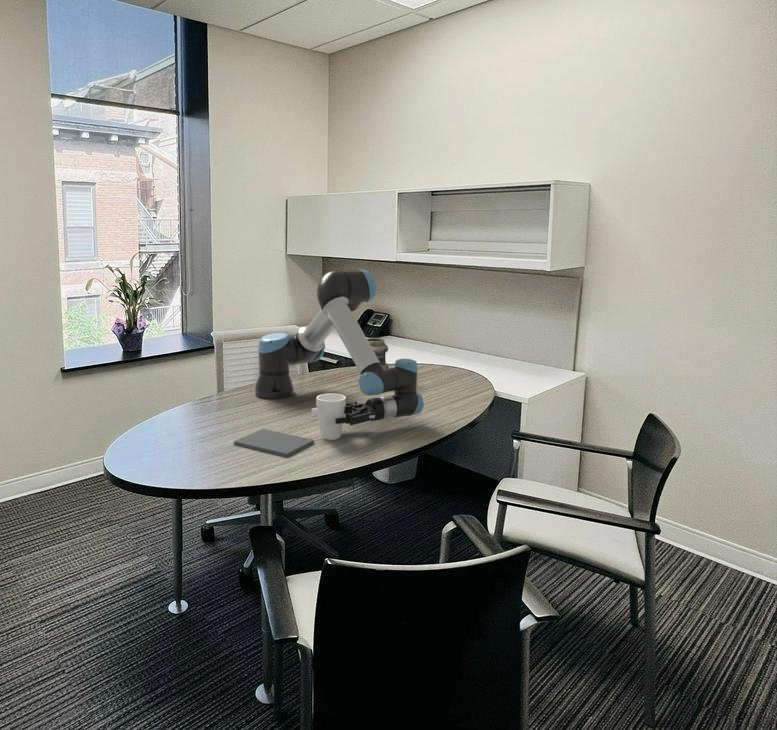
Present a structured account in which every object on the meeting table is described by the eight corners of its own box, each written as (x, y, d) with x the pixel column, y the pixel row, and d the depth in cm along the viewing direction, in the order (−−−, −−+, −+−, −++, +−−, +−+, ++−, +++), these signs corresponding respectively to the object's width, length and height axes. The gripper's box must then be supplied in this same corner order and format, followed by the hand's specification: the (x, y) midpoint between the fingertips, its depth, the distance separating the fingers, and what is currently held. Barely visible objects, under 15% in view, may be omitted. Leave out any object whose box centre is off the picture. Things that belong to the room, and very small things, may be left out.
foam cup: (345, 441, 201) (345, 401, 199) (315, 441, 201) (315, 401, 198) (345, 431, 211) (345, 393, 208) (316, 431, 210) (316, 393, 207)
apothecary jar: (355, 378, 280) (356, 337, 276) (380, 375, 286) (381, 336, 282) (367, 384, 270) (368, 342, 266) (392, 382, 275) (393, 341, 271)
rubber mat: (234, 444, 196) (233, 441, 196) (263, 431, 208) (263, 428, 208) (286, 456, 187) (286, 453, 187) (314, 442, 199) (314, 439, 199)
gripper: (396, 428, 204) (333, 439, 193) (364, 410, 223) (304, 418, 212) (397, 406, 203) (333, 415, 192) (364, 389, 221) (304, 396, 210)
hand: (318, 417), depth 202 cm, fingers closed on foam cup, 9 cm apart
